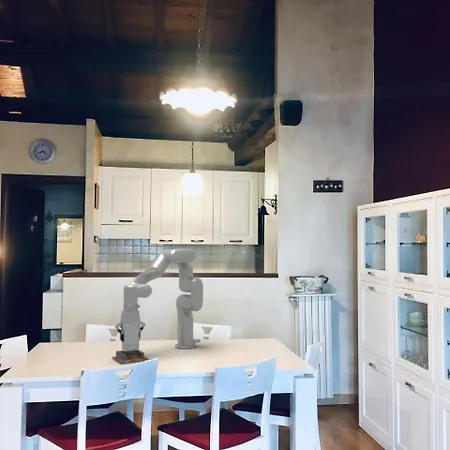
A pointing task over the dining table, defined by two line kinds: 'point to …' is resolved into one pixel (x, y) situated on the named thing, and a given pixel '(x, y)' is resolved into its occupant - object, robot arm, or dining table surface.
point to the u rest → (129, 356)
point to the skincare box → (131, 337)
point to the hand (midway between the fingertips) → (130, 340)
